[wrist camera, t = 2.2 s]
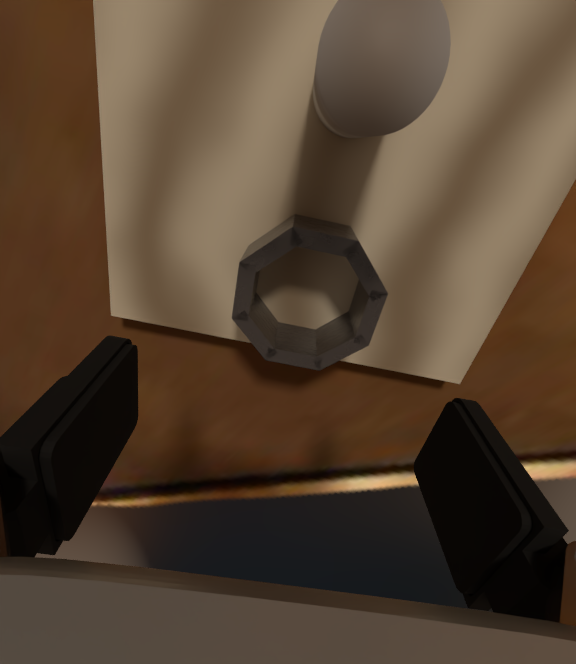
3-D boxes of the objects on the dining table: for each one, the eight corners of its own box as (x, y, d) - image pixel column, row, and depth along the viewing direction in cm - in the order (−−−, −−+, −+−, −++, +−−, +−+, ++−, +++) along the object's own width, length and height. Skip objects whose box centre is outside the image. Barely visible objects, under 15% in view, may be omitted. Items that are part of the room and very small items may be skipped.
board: (633, 29, 14) (907, -66, 8) (451, 370, 23) (508, 460, 17) (107, -113, 13) (-90, -366, 7) (122, 305, 22) (44, 375, 15)
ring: (389, 234, 18) (404, 250, 15) (350, 348, 21) (356, 377, 18) (254, 205, 17) (245, 216, 14) (236, 325, 20) (226, 352, 18)
